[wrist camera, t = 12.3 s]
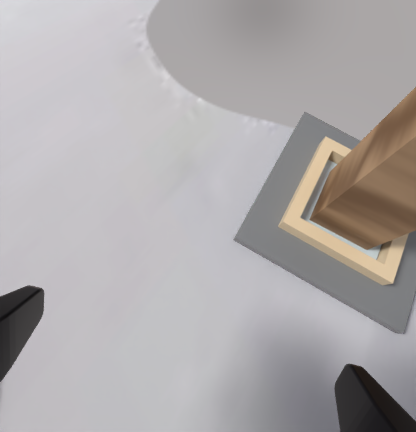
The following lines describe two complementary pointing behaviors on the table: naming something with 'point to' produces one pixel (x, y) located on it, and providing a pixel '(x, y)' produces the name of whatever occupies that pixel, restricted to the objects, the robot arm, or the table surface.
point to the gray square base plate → (327, 232)
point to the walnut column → (374, 183)
